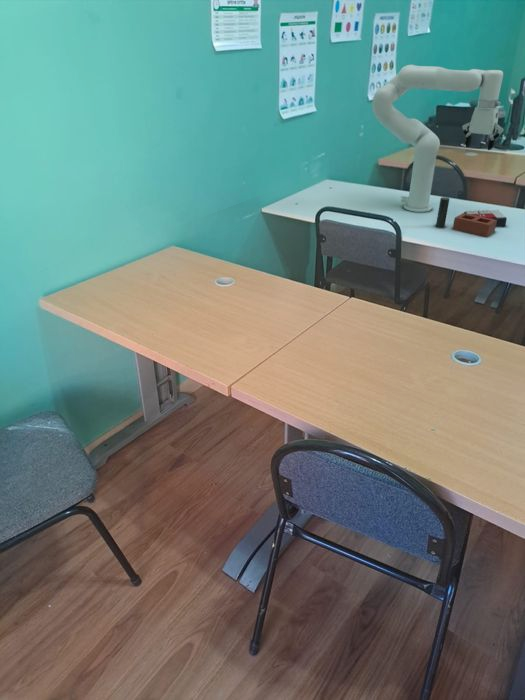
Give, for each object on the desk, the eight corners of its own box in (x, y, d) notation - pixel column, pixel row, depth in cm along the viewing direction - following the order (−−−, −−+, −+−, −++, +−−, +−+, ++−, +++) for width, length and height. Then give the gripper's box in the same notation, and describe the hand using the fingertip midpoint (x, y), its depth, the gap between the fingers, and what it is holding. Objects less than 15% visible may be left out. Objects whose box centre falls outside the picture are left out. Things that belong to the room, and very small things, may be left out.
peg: (434, 226, 220) (439, 198, 214) (438, 224, 223) (443, 196, 216) (442, 228, 218) (447, 200, 212) (445, 226, 220) (451, 198, 214)
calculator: (464, 210, 228) (499, 208, 226) (462, 219, 230) (497, 218, 228) (470, 217, 218) (507, 216, 217) (469, 227, 220) (505, 226, 219)
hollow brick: (452, 229, 217) (454, 217, 215) (460, 224, 222) (463, 213, 220) (486, 237, 209) (489, 225, 206) (494, 231, 214) (497, 220, 211)
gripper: (512, 104, 209) (502, 149, 218) (471, 101, 219) (463, 144, 228) (504, 106, 204) (495, 152, 213) (463, 103, 214) (455, 146, 223)
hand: (478, 148), depth 220 cm, fingers open, 9 cm apart
